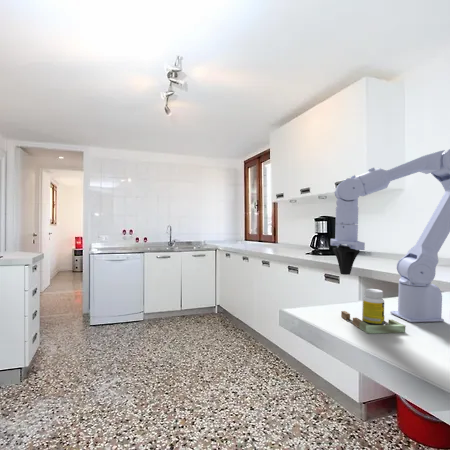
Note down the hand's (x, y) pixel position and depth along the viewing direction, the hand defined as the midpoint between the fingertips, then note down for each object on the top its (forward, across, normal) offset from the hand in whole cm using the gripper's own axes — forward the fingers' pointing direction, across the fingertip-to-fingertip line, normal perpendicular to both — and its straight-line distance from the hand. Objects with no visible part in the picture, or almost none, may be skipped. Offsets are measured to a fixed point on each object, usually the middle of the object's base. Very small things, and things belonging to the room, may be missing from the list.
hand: (345, 274), depth 86 cm
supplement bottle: (+11, +11, +2) cm, 15 cm away
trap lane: (+10, +10, +2) cm, 14 cm away
